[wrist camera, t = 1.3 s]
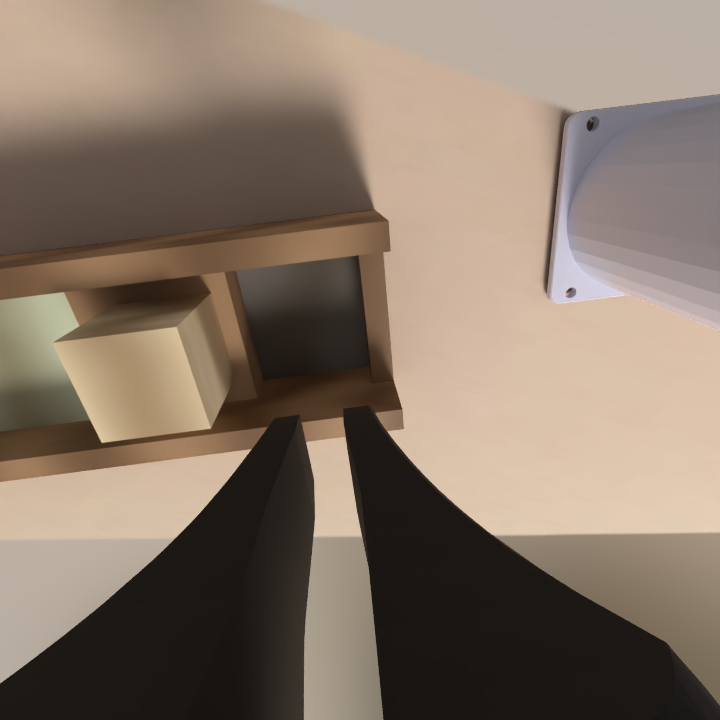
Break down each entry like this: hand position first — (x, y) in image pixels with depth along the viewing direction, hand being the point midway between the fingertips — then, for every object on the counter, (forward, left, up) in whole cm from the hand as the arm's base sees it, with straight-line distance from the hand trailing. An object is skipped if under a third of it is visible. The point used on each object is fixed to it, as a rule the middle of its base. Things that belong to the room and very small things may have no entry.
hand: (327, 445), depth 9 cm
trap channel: (+10, 0, -10) cm, 15 cm away
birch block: (+7, 0, -8) cm, 11 cm away
